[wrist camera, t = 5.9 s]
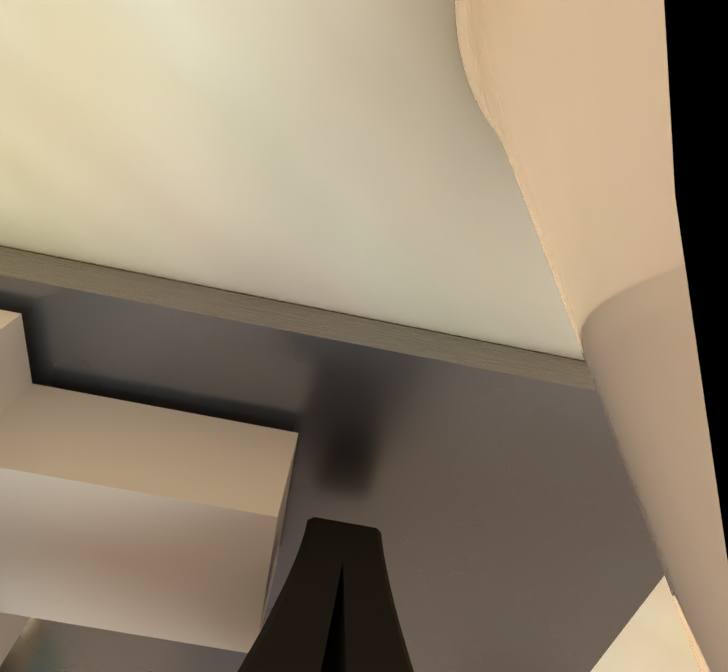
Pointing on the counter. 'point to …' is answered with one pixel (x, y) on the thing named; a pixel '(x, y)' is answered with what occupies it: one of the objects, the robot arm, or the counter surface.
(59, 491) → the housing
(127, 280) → the base plate
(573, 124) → the drinking glass
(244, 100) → the counter surface
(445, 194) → the counter surface
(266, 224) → the counter surface
